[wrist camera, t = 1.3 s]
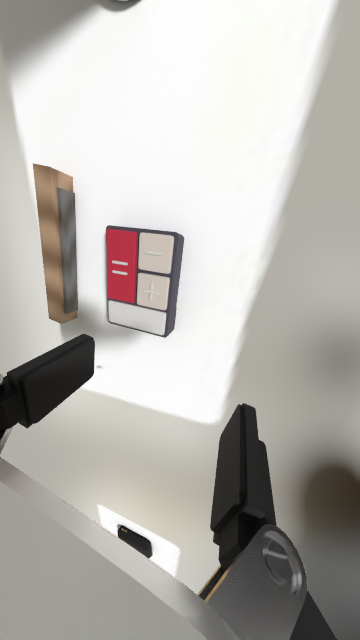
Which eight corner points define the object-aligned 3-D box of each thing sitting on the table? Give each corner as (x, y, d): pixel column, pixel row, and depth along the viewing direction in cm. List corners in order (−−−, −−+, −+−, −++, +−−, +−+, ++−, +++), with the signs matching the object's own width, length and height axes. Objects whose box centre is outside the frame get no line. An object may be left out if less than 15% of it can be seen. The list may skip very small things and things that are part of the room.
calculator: (176, 231, 21) (164, 340, 26) (186, 236, 25) (174, 330, 30) (101, 223, 24) (104, 324, 29) (120, 229, 28) (120, 317, 33)
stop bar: (57, 174, 27) (32, 163, 23) (75, 177, 26) (53, 167, 23) (65, 312, 37) (49, 318, 34) (79, 318, 36) (63, 324, 33)
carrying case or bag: (152, 538, 65) (119, 520, 69) (148, 550, 62) (114, 531, 66) (154, 550, 69) (122, 533, 73) (150, 563, 66) (118, 544, 70)
